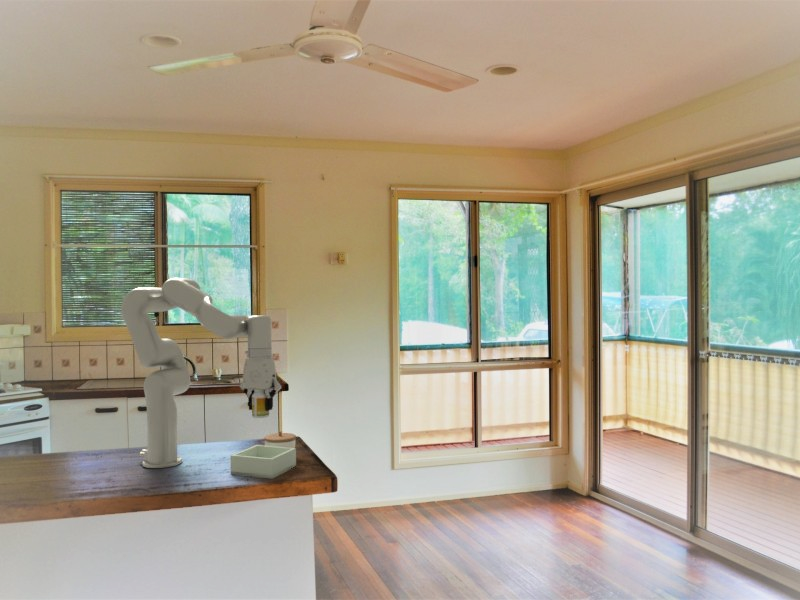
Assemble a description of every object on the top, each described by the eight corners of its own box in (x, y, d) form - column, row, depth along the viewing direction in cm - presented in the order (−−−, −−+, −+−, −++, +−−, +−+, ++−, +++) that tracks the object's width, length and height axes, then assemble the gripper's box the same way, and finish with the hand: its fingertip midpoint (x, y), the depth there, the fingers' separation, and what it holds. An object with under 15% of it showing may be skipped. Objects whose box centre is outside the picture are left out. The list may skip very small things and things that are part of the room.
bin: (230, 474, 198) (230, 455, 198) (256, 462, 212) (256, 444, 212) (272, 478, 193) (272, 459, 193) (296, 466, 207) (296, 448, 207)
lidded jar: (289, 453, 225) (288, 427, 225) (300, 459, 216) (300, 432, 215) (260, 457, 219) (260, 430, 219) (270, 464, 210) (270, 436, 210)
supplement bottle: (272, 415, 203) (272, 385, 203) (262, 418, 198) (261, 388, 198) (259, 414, 206) (258, 385, 206) (248, 417, 201) (248, 387, 201)
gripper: (230, 354, 201) (231, 410, 201) (276, 354, 196) (277, 412, 196) (243, 352, 208) (244, 406, 208) (289, 352, 203) (289, 408, 203)
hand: (260, 409), depth 202 cm, fingers closed on supplement bottle, 5 cm apart
